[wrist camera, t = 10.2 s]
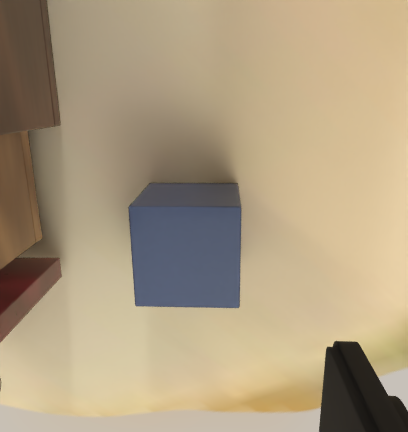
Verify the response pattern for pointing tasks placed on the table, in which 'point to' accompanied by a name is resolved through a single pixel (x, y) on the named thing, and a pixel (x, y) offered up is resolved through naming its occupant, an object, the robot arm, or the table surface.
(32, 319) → the table surface
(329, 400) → the robot arm
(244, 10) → the table surface
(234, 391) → the table surface
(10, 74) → the cabinet
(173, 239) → the block
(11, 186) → the drawer
